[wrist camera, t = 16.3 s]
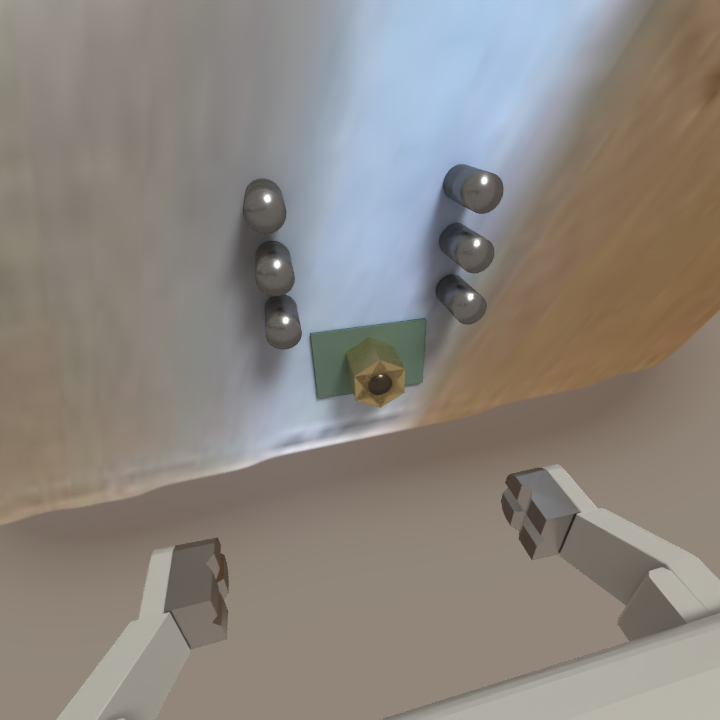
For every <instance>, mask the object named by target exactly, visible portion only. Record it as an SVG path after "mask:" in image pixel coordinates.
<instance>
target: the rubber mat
mask: <svg viewBox="0 0 720 720" xmlns="http://www.w3.org/2000/svg"><path fill="white" fill-rule="evenodd" d="M425 333H426V319H425V318H423V319H416V320H408V321H400V322H393V323H385V324H378V325H370V326H362V327H355V328H347V329H340V330H332V331H324V332H317V333H310V334H311V342H312V351H313V360H314V368H315V377H316V386H317V394H318V399H320V398H326V397H333V396H339V395H346V394H352V393H353V391H352V388H351V385H350V381H349V378H348V375H347V361H346V352H347V351H349V350H350V349H352V348H353V347H355V346H356V345H358V344H359V343H361V342H362V341H364V340H365V339H367V338H368V337H371V338H373V339H376V340H379V341H381V342H384V343H387V344H389V345H392V346H393V348H394V349H395V351H396V353H397V355H398V357H399V358H400V360H401V362H402V364H403V366H404V368H405V385H410V384H416V383H422V382H423V367H424V350H425Z"/></svg>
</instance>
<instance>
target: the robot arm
mask: <svg viewBox="0 0 720 720" xmlns="http://www.w3.org/2000/svg"><path fill="white" fill-rule="evenodd" d="M505 483H506V485H507V486H508V488H507V489H506V490H505V491H504V492H503V494H502V499H501V503H502V510H503V512H504V515H505V517H506V519H507V521H508V522H509V524H510V526H512V527H514V528H515V529H517V530H519V540H520V542H521V544H522V545H523V547H524V548H525V550H526V552H527V553H528V555H529V556H530V558H531V560H535V559H539V558H544V557H549V556H553V555H557V554H560V557H562V558H563V559H564V560H566V561H567V562H568V563H570V564H571V565H572V566H574V567H575V568H576V569H578V570H579V571H580V572H582V573H583V574H584V575H586V576H587V577H588V578H590V579H591V580H592V581H594V582H595V583H597V584H598V585H599V586H600V587H602V588H603V589H604V590H606V591H607V592H609V593H610V594H611V595H613V596H614V597H615V598H617V599H618V600H619V601H621V602H622V603H623V604H625V605H626V607H625V609H624V610H623V612H622V613H621V615H620V617H619V619H618V625H619V627H620V628H621V630H622V631H623V632H624V634H625V636H626V637H627V638H628V640H629V642H626V643H623V644H620V645H616V646H613V647H610V648H607V649H604V650H601V651H597V652H594V653H591V654H588V655H585V656H581V657H578V658H575V659H572V660H568V661H565V662H562V663H559V664H556V665H553V666H550V667H546V668H543V669H540V670H537V671H533V672H530V673H527V674H524V675H521V676H518V677H514V678H511V679H508V680H505V681H502V682H498V683H495V684H492V685H489V686H486V687H482V688H479V689H476V690H473V691H470V692H466V693H463V694H460V695H457V696H454V697H450V698H447V699H444V700H441V701H438V702H435V703H432V704H428V705H425V706H422V707H419V708H415V709H412V710H409V711H406V712H403V713H400V714H396V715H393V716H390V717H387V718H383V719H380V720H720V581H719V579H718V578H716V576H715V575H714V574H713V573H712V572H711V571H710V570H709V569H708V568H707V567H706V566H705V565H704V564H703V563H702V562H701V561H700V560H699V559H698V558H697V557H696V556H694V555H692V554H690V553H688V552H686V551H685V550H683V549H681V548H679V547H677V546H675V545H673V544H671V543H669V542H667V541H665V540H663V539H662V538H660V537H658V536H656V535H654V534H652V533H650V532H648V531H646V530H644V529H642V528H640V527H639V526H637V525H635V524H633V523H631V522H629V521H627V520H625V519H623V518H621V517H619V516H617V515H615V514H614V513H612V512H610V511H608V510H606V509H604V508H597V507H596V506H595V505H594V504H593V502H592V501H591V500H590V499H589V498H588V497H587V496H586V494H585V493H584V492H583V491H582V490H581V488H580V487H579V486H578V485H577V484H576V483H575V482H574V480H573V479H572V478H571V477H570V476H569V475H568V474H567V472H566V471H565V470H564V469H563V468H562V467H561V466H559V465H558V464H555V465H550V466H546V467H542V468H534V469H530V470H526V471H521V472H517V473H513V474H510V475H509V476H508V477H507V478H506V482H505ZM220 552H221V544H220V541H219V539H218V538H212V539H207V540H202V541H196V542H192V543H186V544H181V545H175V546H171V547H166V548H161V549H157V550H154V551H153V553H152V555H151V557H150V561H149V566H148V571H147V576H146V580H145V585H144V590H143V595H142V600H141V605H140V610H139V615H138V619H137V620H134V621H131V622H130V623H129V625H128V626H127V627H126V628H125V630H124V631H123V632H122V634H121V635H120V636H119V638H118V639H117V640H116V642H115V643H114V644H113V645H112V647H111V648H110V649H109V651H108V652H107V653H106V655H105V656H104V657H103V659H102V660H101V661H100V663H99V664H98V665H97V667H96V668H95V669H94V671H93V672H92V673H91V675H90V676H89V677H88V678H87V680H86V681H85V683H84V684H83V685H82V686H81V688H80V689H79V690H78V692H77V693H76V694H75V696H74V697H73V698H72V700H71V701H70V702H69V704H68V705H67V706H66V708H65V709H64V710H63V712H62V713H61V714H60V716H59V717H58V718H57V720H155V719H156V717H157V715H158V713H159V712H160V710H161V708H162V706H163V704H164V702H165V700H166V698H167V697H168V695H169V693H170V691H171V689H172V687H173V685H174V683H175V681H176V679H177V678H178V676H179V674H180V672H181V670H182V668H183V666H184V664H185V662H186V661H187V659H188V657H189V655H190V653H191V651H190V650H191V649H194V648H198V647H201V646H205V645H208V644H211V643H215V642H219V641H222V640H225V639H227V622H228V610H227V607H226V604H225V602H224V599H225V597H226V596H227V594H228V593H229V592H228V591H229V589H228V587H229V579H228V567H227V562H226V558H225V555H223V554H221V553H220Z"/></svg>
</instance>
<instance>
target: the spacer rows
mask: <svg viewBox="0 0 720 720" xmlns="http://www.w3.org/2000/svg"><path fill="white" fill-rule="evenodd" d="M443 188H444V192H445V194H446V196H447V197H448V198H449V199H451V200H453V201H455V202H457V203H459V204H461V205H462V206H464V207H466V208H468V209H470V210H472V211H474V212H476V213H479V214H484V213H488V212H490V211H492V210H493V209H494V208H495V207H496V206H497V205H498V204H499V202H500V201H501V198H502V196H503V183H502V181H501V179H500V178H499V177H498V176H497V175H496V174H493V173H490V172H487V171H484V170H481V169H477V168H474V167H471V166H468V165H464V164H460V165H456V166H454V167H453V168H451V169H450V170H449V171H448V173H447V174H446V176H445V179H444V183H443ZM243 213H244V217H245V220H246V222H247V223H248V225H249V226H250V227H251V228H252V229H254V230H255V231H257V232H260V233H273V232H275V231H277V230H278V229H280V228H281V227H282V225H283V224H284V222H285V219H286V208H285V204H284V200H283V196H282V193H281V190H280V189H279V187H278V186H277V185H276V184H275V183H274V182H272V181H271V180H268V179H257V180H254V181H253V182H251V183H250V184H249V185H248V187H247V189H246V192H245V200H244V208H243ZM439 244H440V248H441V250H442V251H443V252H444V253H445V254H446V255H448V256H449V257H450V258H451V259H452V260H454V261H455V262H456V263H457V264H458V265H460V266H461V267H462V268H463V269H465V270H466V271H467V272H469V273H479V272H481V271H483V270H485V269H486V268H487V267H488V266H489V265H490V264H491V262H492V260H493V257H494V247H493V245H492V243H491V242H490V241H489V240H487V239H485V238H484V237H482V236H480V235H479V234H477V233H476V232H474V231H472V230H471V229H469V228H467V227H466V226H464V225H462V224H459V223H455V224H452V225H449V226H448V227H447V228H445V229H444V231H443V232H442V234H441V236H440V240H439ZM294 280H295V277H294V272H293V267H292V262H291V257H290V253H289V251H288V249H287V248H286V247H285V246H284V245H283V244H282V243H280V242H277V241H268V242H265V243H263V244H262V245H261V246H260V247H259V248H258V250H257V252H256V283H257V285H258V287H259V288H260V290H261V291H262V292H264V293H265V294H267V295H270V296H273V297H271V298H270V299H269V300H268V301H267V303H266V305H265V326H266V338H267V341H268V342H269V343H270V344H271V345H272V346H273V347H275V348H278V349H289V348H292V347H294V346H295V345H296V344H298V342H299V341H300V339H301V336H302V331H301V326H300V321H299V316H298V310H297V305H296V303H295V301H294V300H293V299H292V298H291V297H289V296H287V295H284V294H286V293H287V292H288V291H290V290H291V288H292V287H293V284H294ZM436 295H437V297H438V299H439V300H440V301H441V302H442V303H443V304H444V305H445V306H446V308H447V309H448V310H449V311H450V312H451V313H452V314H453V315H454V316H455V318H456V319H457V320H458V321H459V322H460V323H463V324H472V323H475V322H477V321H478V320H479V319H481V318H482V316H483V315H484V313H485V311H486V307H487V305H486V301H485V299H484V298H483V297H482V296H481V295H480V294H479V293H478V292H477V291H475V290H474V289H473V288H472V287H471V286H470V285H469V284H467V283H466V282H465V281H464V280H463V279H462V278H461V277H459V276H457V275H448V276H446V277H444V278H442V279H441V280H440V282H439V283H438V285H437V287H436Z"/></svg>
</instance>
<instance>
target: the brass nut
mask: <svg viewBox="0 0 720 720" xmlns="http://www.w3.org/2000/svg"><path fill="white" fill-rule="evenodd" d="M346 361H347V375H348V378H349V381H350V385H351V388H352V391H353V394H354V397H355V400H356V401H359V402H363V403H366V404H370V405H373V406H376V407H380V408H381V407H382V406H384V405H386V404H387V403H389V402H390V401H392V400H393V399H395V398H397V397H398V396H400V395H401V394H403V393H404V391H405V368H404V366H403V364H402V362H401V360H400V358H399V357H398V355H397V353H396V351H395V349H394V348H393V346H392V345H389V344H387V343H384V342H381V341H379V340H376V339H373V338H371V337H368V338H367V339H365V340H364V341H362V342H361V343H359V344H358V345H356V346H355V347H353V348H352V349H350V350H349V351H347V352H346Z"/></svg>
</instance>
